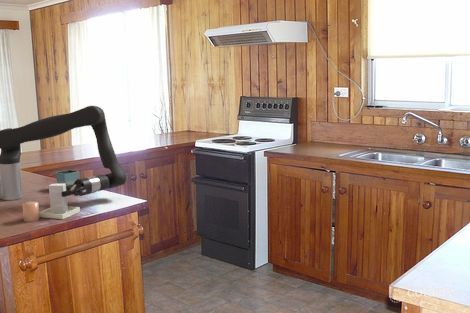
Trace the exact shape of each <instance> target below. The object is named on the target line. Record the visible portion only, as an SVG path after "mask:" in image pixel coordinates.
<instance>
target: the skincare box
mask: <svg viewBox="0 0 470 313" xmlns="http://www.w3.org/2000/svg"><path fill="white" fill-rule="evenodd" d="M63 191H66V184H65V183H63V184H58V183H51V184H49V185H48V195H49V204H50V206H49V208H51V213H65V212H66V211H68V208H67V206H68V196H66V197H62V194H61V193H62V192H63Z"/></svg>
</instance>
